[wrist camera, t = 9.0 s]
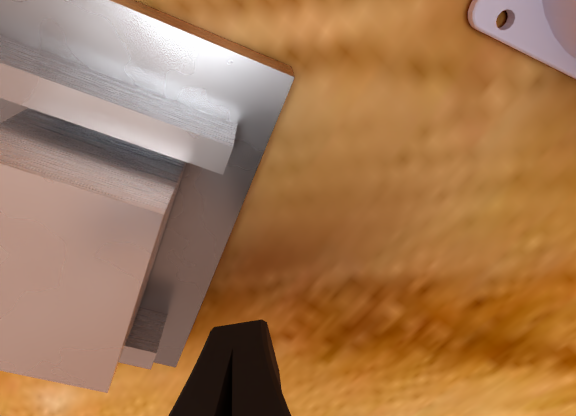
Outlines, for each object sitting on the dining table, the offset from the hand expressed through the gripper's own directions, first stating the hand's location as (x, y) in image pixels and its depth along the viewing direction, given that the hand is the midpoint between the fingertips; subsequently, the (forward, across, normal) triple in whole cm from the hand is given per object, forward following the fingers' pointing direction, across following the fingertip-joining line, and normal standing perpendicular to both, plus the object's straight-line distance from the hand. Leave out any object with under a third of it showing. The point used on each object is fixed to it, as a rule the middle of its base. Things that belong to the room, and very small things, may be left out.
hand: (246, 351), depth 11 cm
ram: (+4, +5, -3) cm, 7 cm away
